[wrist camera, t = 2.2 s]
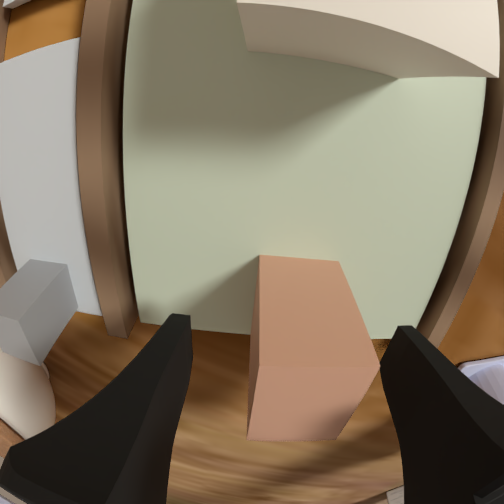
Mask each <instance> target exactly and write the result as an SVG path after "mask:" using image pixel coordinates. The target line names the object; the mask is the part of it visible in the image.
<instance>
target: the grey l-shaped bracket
mask: <svg viewBox="0 0 504 504" xmlns="http://www.w3.org/2000/svg"><path fill="white" fill-rule="evenodd" d="M80 39H81V37H79V38H75V39H71V40H67V41H63V42H60V43H56V44H53V45H49V46H46V47H43V48H40V49H37V50H34V51H31V52H28V53H25V54H22V55H20V56H17V57H14V58H12V59H9V60H7V61H4V62H2V63H0V201H1V206H2V211H3V216H4V221H5V226H6V230H7V234H8V239H9V243H10V246H11V250H12V254H13V257H14V261H15V264H16V268H17V272H16V273H15V274H14V275H13V276H12V277H11V278H10V279H9V280H8V281H7V282H6V283H5V284H4V285H3V286H2V287H1V288H0V348H1V350H2V352H4V353H6V354H9V355H11V356H14V357H16V358H19V359H22V360H24V361H27V362H30V363H33V364H35V365H38V366H41V364H42V363H43V361H44V359H45V358H46V356H47V354H48V353H49V351H50V350H51V348H52V346H53V345H54V343H55V342H56V340H57V339H58V337H59V335H60V334H61V332H62V331H63V329H64V328H65V326H66V325H67V323H68V322H69V320H70V319H71V317H72V316H73V314H74V313H75V311H78V312H83V313H88V314H94V315H99V316H103V314H102V310H101V307H100V303H99V298H98V294H97V290H96V285H95V281H94V276H93V271H92V266H91V261H90V256H89V250H88V245H87V239H86V232H85V226H84V219H83V211H82V203H81V194H80V184H79V172H78V157H77V132H76V98H77V74H78V60H79V49H80Z"/></svg>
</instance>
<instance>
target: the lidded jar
mask: <svg viewBox="0 0 504 504" xmlns="http://www.w3.org/2000/svg"><path fill="white" fill-rule="evenodd" d="M49 379H50V375H49V371H48V369H47V367H46V365H45V363H44V362H43V363H42V364H41V366H38V365H35V364H33V363H30V362H27V361H24V360H22V359H19V358H16V357H14V356H11V355H9V354H6V353H4V352H2V350H1V348H0V456H1V457H3V458H5V456H6V454H7V452H8V450H9V448H10V447H11V446H13V445H15V444H18V443H20V442H22V441H24V440H26V439H28V438H30V437H32V436H34V435H37V434H39V433H40V432H42V431H44V430H46V429H48V428H49V427H51V426H53V425H54V424H55V420H56V404H55V397H54V394H53V390H52V386H51V384H50V381H49Z"/></svg>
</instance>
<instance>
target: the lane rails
mask: <svg viewBox="0 0 504 504" xmlns="http://www.w3.org/2000/svg"><path fill="white" fill-rule="evenodd" d="M28 1H31V0H0V63H2V62H3V61H4V51H5V43H6V36H7V29H8V23H9V18H10V12H11V8H13V9H14V8H16V7H18V6H20V5H22V4H24V3H26V2H28ZM132 3H133V0H86V5H85V11H84V17H83V24H82V31H81V39H80V49H79V60H78V74H77V98H76V132H77V157H78V172H79V184H80V194H81V203H82V211H83V219H84V226H85V232H86V239H87V245H88V250H89V256H90V261H91V266H92V271H93V276H94V281H95V285H96V290H97V294H98V298H99V303H100V307H101V310H102V314H103V318H104V322H105V326H106V329H107V333H108V335H109V336H115V337H120V338H126V339H128V337H129V334H130V332H131V330H132V328H133V326H134V324H135V322H136V319H137V317H138V315H139V312H138V306H137V300H136V293H135V287H134V280H133V273H132V265H131V257H130V249H129V240H128V230H127V218H126V206H125V190H124V168H123V99H124V79H125V64H126V52H127V42H128V33H129V25H130V17H131V10H132ZM497 4H498V16H499V37H500V60H499V78H490V77H486V90H485V100H484V109H483V116H482V124H481V130H480V136H479V142H478V147H477V153H476V157H475V162H474V167H473V171H472V176H471V180H470V184H469V188H468V192H467V195H466V199H465V203H464V206H463V210H462V213H461V216H460V220H459V223H458V226H457V229H456V232H455V235H454V238H453V241H452V244H451V247H450V250H449V252H448V255H447V258H446V261H445V263H444V266H443V268H442V271H441V273H440V276H439V278H438V281H437V283H436V286H435V288H434V290H433V293H432V295H431V297H430V300H429V302H428V304H427V306H426V308H425V311H424V313H423V315H422V317H421V319H420V321H419V323H418V325H417V327H416V329H417V330H418V331H419V332H420V333H421V334H422V335H423V336H424V337H425V338H427V339H428V340H429V341H430V342H431V343H432V344H433V345H434V346H435V347H436V348H438V346H439V345H440V343H441V341H442V339H443V338H444V336H445V334H446V332H447V330H448V329H449V327H450V325H451V323H452V321H453V319H454V317H455V315H456V313H457V311H458V309H459V307H460V305H461V303H462V301H463V299H464V297H465V295H466V293H467V291H468V289H469V286H470V284H471V282H472V280H473V277H474V275H475V273H476V270H477V268H478V265H479V263H480V261H481V258H482V255H483V253H484V250H485V248H486V245H487V242H488V239H489V237H490V234H491V231H492V228H493V225H494V222H495V219H496V215H497V212H498V209H499V205H500V202H501V198H502V195H503V191H504V0H497ZM16 272H17V268H16V264H15V261H14V257H13V254H12V250H11V246H10V243H9V239H8V234H7V230H6V226H5V221H4V216H3V211H2V206H1V201H0V288H1V287H2V286H3V285H4V284H5V283H6V282H7V281H8V280H9V279H10V278H11V277H12V276H13V275H14V274H15V273H16Z"/></svg>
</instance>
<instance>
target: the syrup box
mask: <svg viewBox="0 0 504 504" xmlns="http://www.w3.org/2000/svg"><path fill="white" fill-rule="evenodd" d="M386 494H387V500H388V504H404V485H403V486H401V487H398V488H396V489H393V490H391V491H388V492H386Z"/></svg>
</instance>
